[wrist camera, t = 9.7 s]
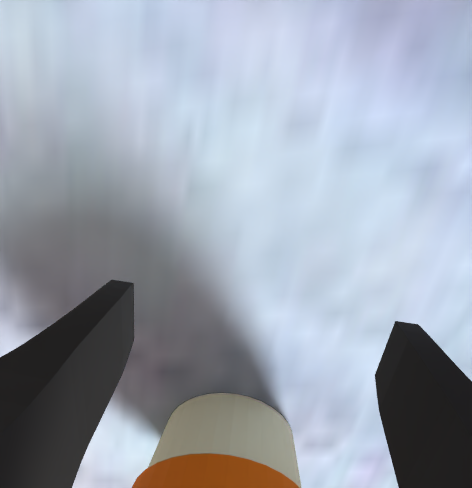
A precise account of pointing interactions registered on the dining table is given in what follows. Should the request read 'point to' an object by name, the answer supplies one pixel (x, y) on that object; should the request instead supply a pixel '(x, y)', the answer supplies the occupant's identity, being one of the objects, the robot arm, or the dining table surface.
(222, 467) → the reusable coffee cup
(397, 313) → the dining table surface
